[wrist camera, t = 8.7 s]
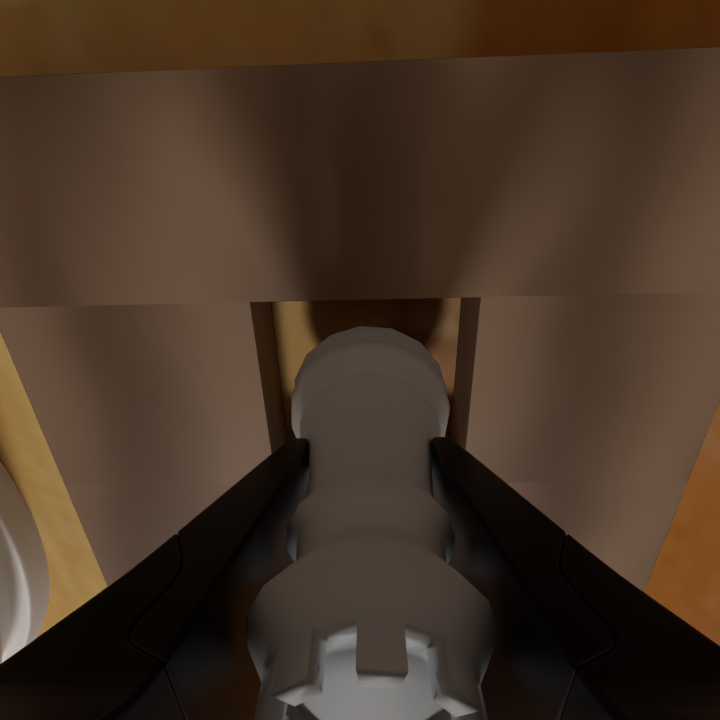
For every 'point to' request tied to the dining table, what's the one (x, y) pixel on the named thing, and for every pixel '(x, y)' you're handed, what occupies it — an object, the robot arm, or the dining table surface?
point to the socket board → (369, 270)
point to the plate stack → (20, 572)
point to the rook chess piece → (370, 551)
